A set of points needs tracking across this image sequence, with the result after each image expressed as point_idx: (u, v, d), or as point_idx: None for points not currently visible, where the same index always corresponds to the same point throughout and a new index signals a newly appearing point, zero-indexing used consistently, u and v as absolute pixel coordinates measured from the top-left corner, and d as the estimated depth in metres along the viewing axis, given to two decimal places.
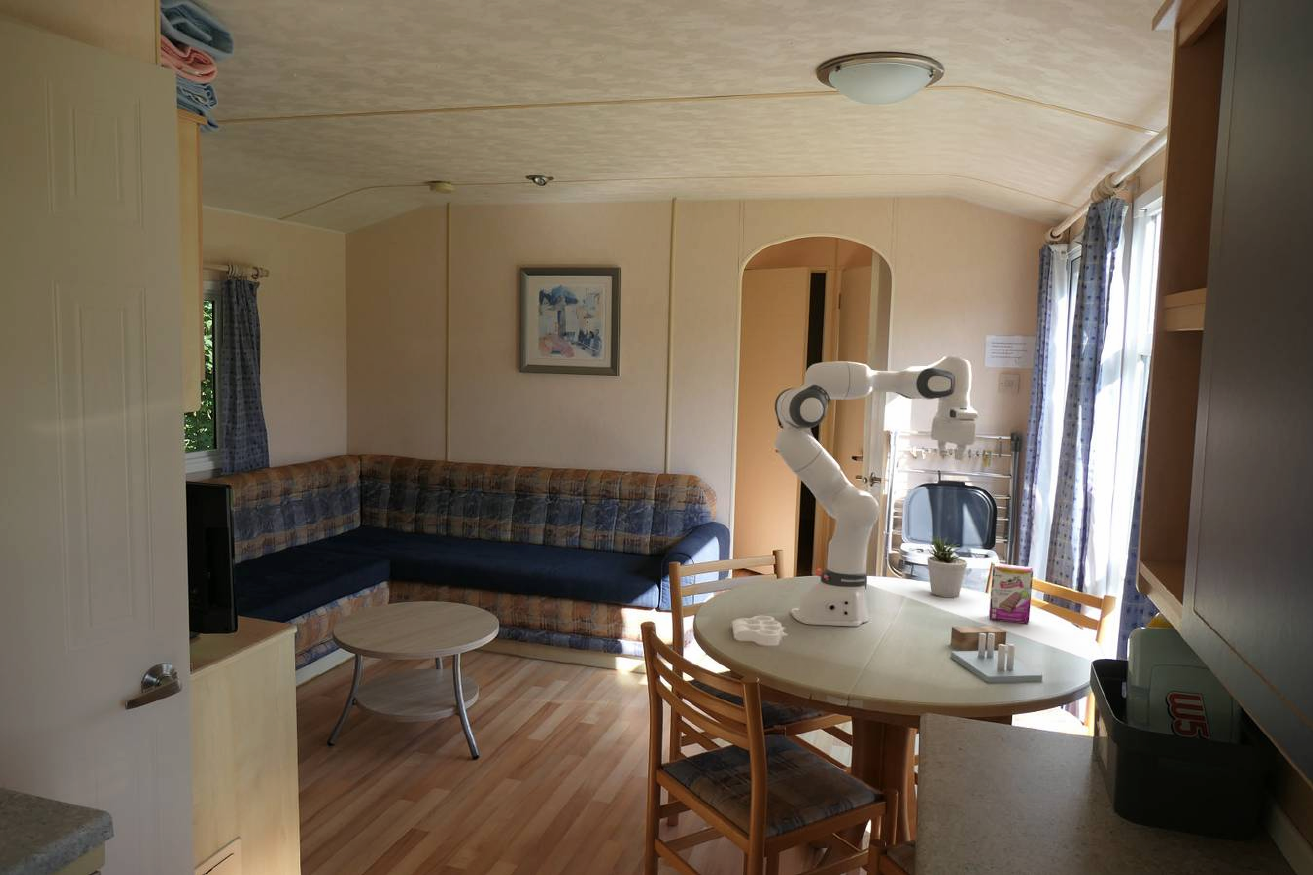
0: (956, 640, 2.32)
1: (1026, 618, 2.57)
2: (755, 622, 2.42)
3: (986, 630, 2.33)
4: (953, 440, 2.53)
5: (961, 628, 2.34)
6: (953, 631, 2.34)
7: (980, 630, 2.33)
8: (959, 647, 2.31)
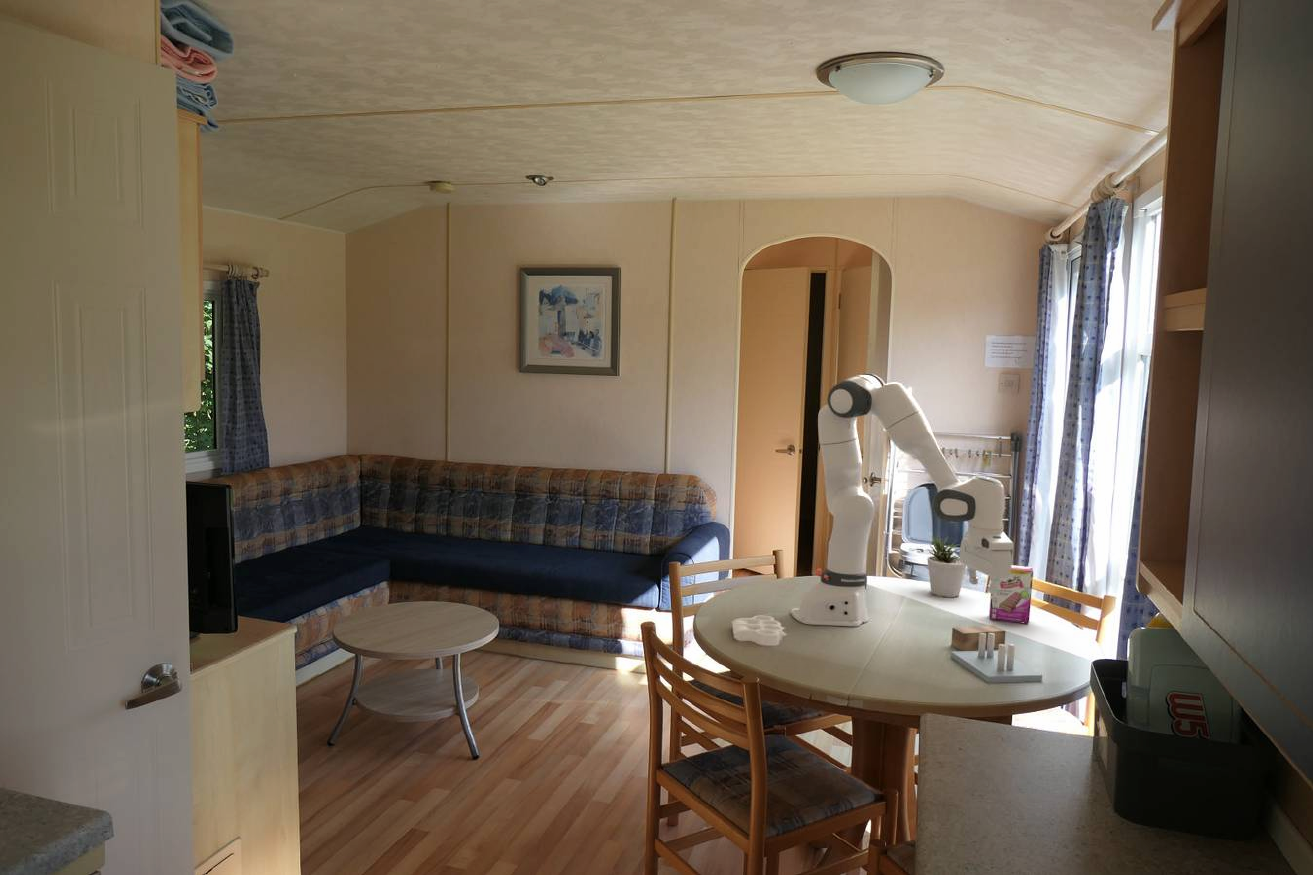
0: (958, 641, 2.32)
1: (1026, 618, 2.57)
2: (755, 622, 2.42)
3: (986, 630, 2.33)
4: (986, 571, 2.27)
5: (962, 629, 2.33)
6: (954, 632, 2.33)
7: (980, 630, 2.33)
8: (961, 648, 2.30)
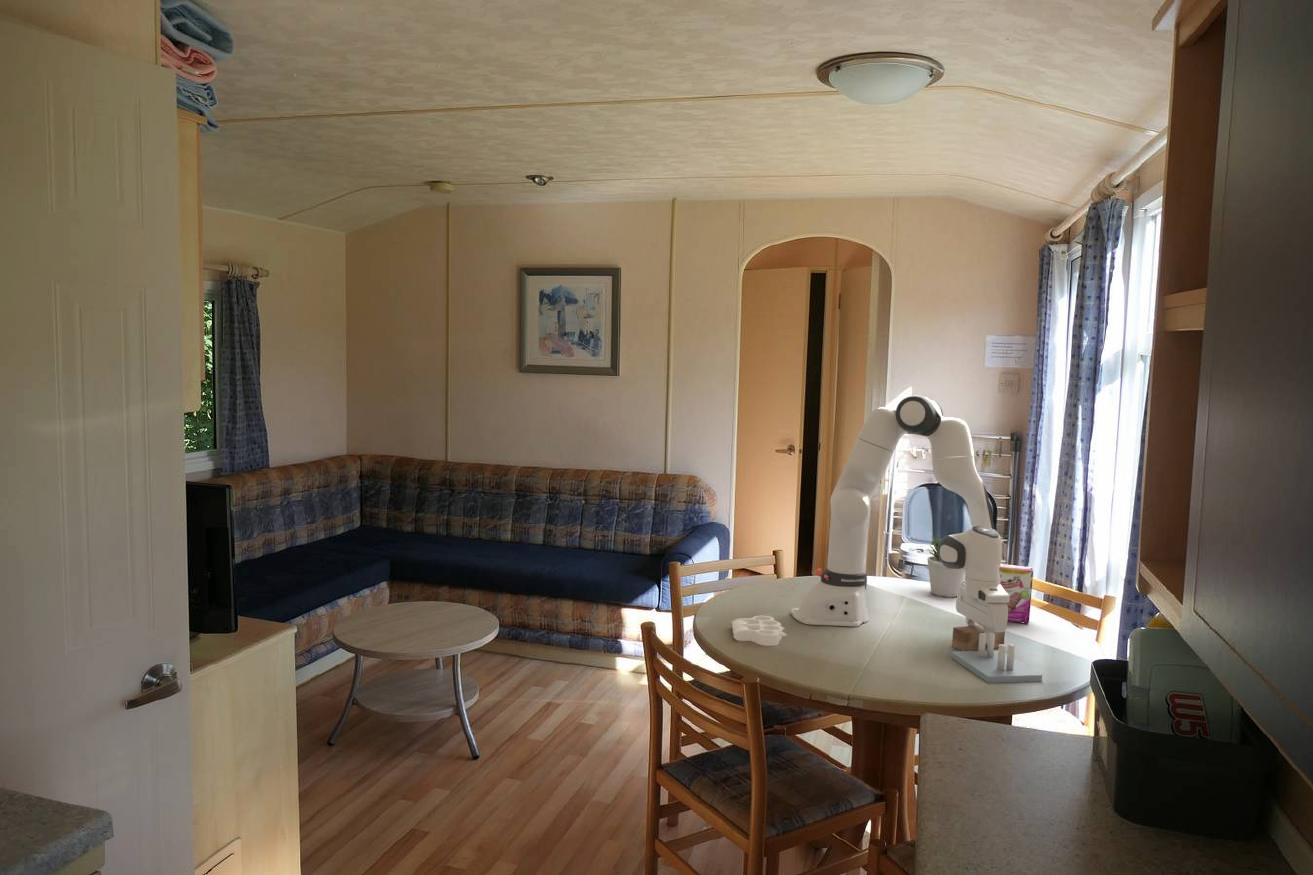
0: (960, 640, 2.31)
1: (1026, 618, 2.57)
2: (755, 622, 2.42)
3: None
4: (982, 623, 2.29)
5: (962, 628, 2.33)
6: (955, 632, 2.33)
7: (981, 629, 2.33)
8: (963, 648, 2.30)
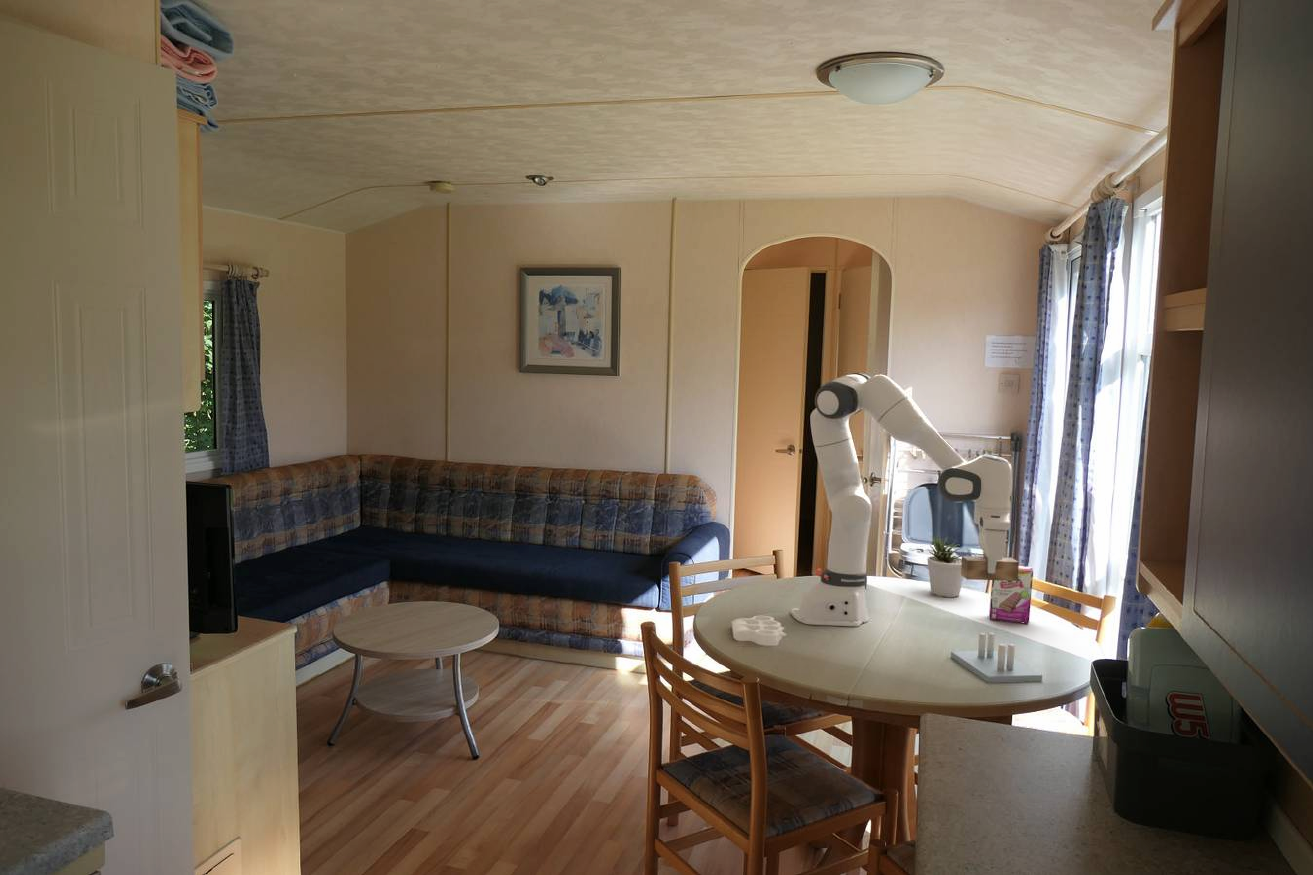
0: (964, 568, 2.27)
1: (1026, 618, 2.57)
2: (755, 622, 2.42)
3: (997, 560, 2.26)
4: (985, 551, 2.23)
5: (970, 557, 2.28)
6: (962, 560, 2.29)
7: None
8: (966, 576, 2.26)
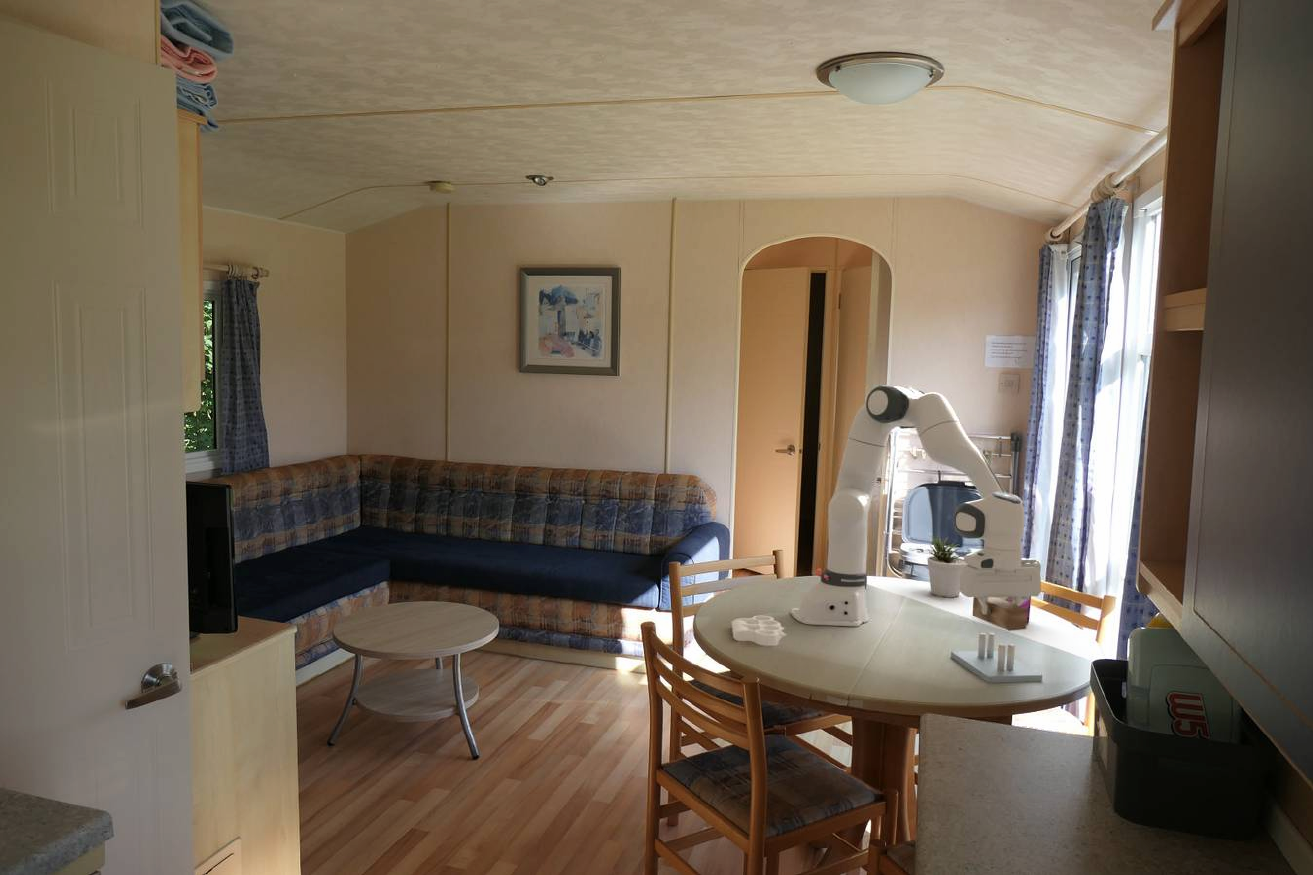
0: None
1: None
2: (754, 622, 2.42)
3: (999, 604, 2.13)
4: None
5: (989, 597, 2.20)
6: None
7: (997, 602, 2.15)
8: None
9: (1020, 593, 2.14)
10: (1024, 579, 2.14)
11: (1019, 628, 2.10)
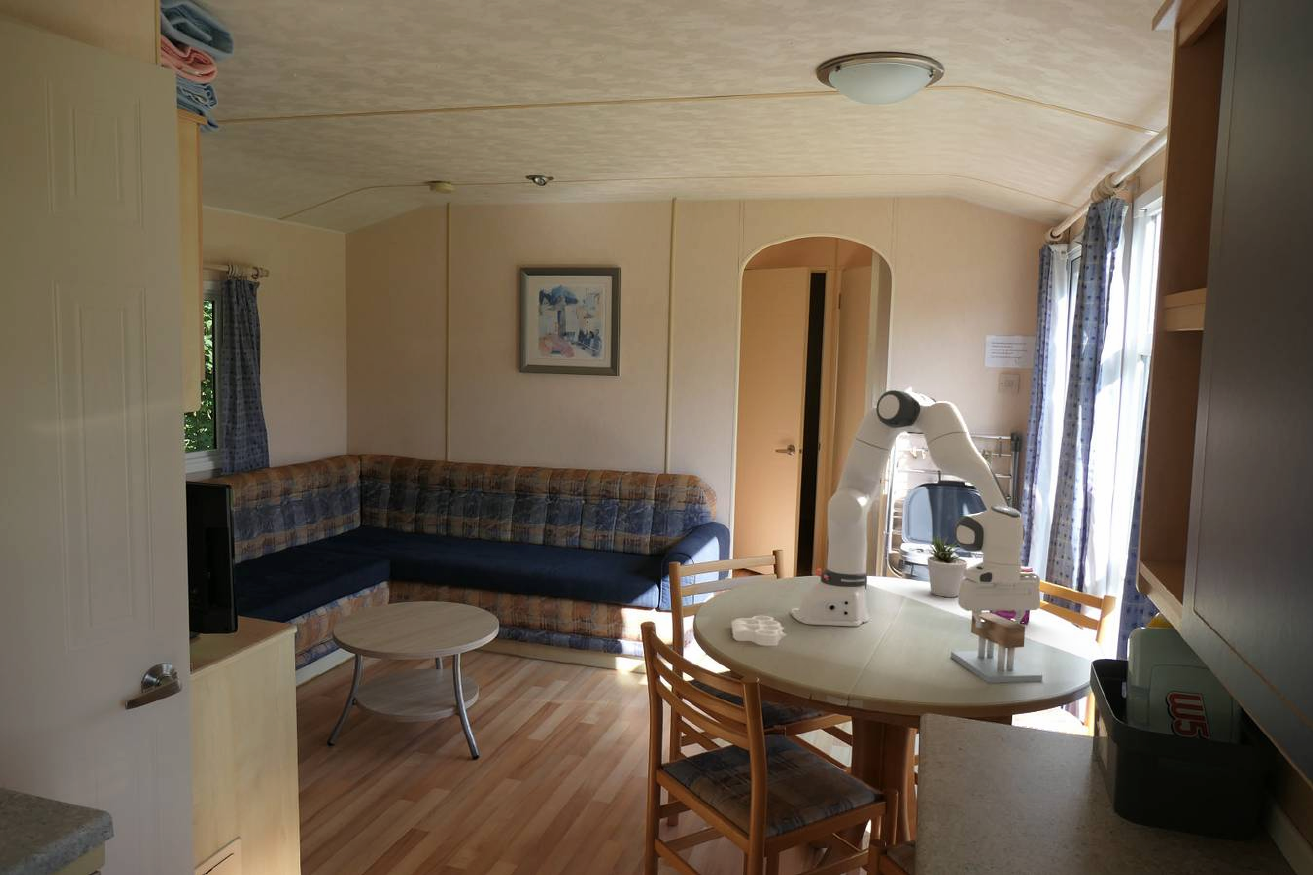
0: None
1: (1026, 618, 2.57)
2: (754, 622, 2.42)
3: (998, 621, 2.14)
4: None
5: (988, 614, 2.20)
6: None
7: (995, 620, 2.15)
8: None
9: (1019, 607, 2.14)
10: (1023, 593, 2.14)
11: (1017, 646, 2.10)
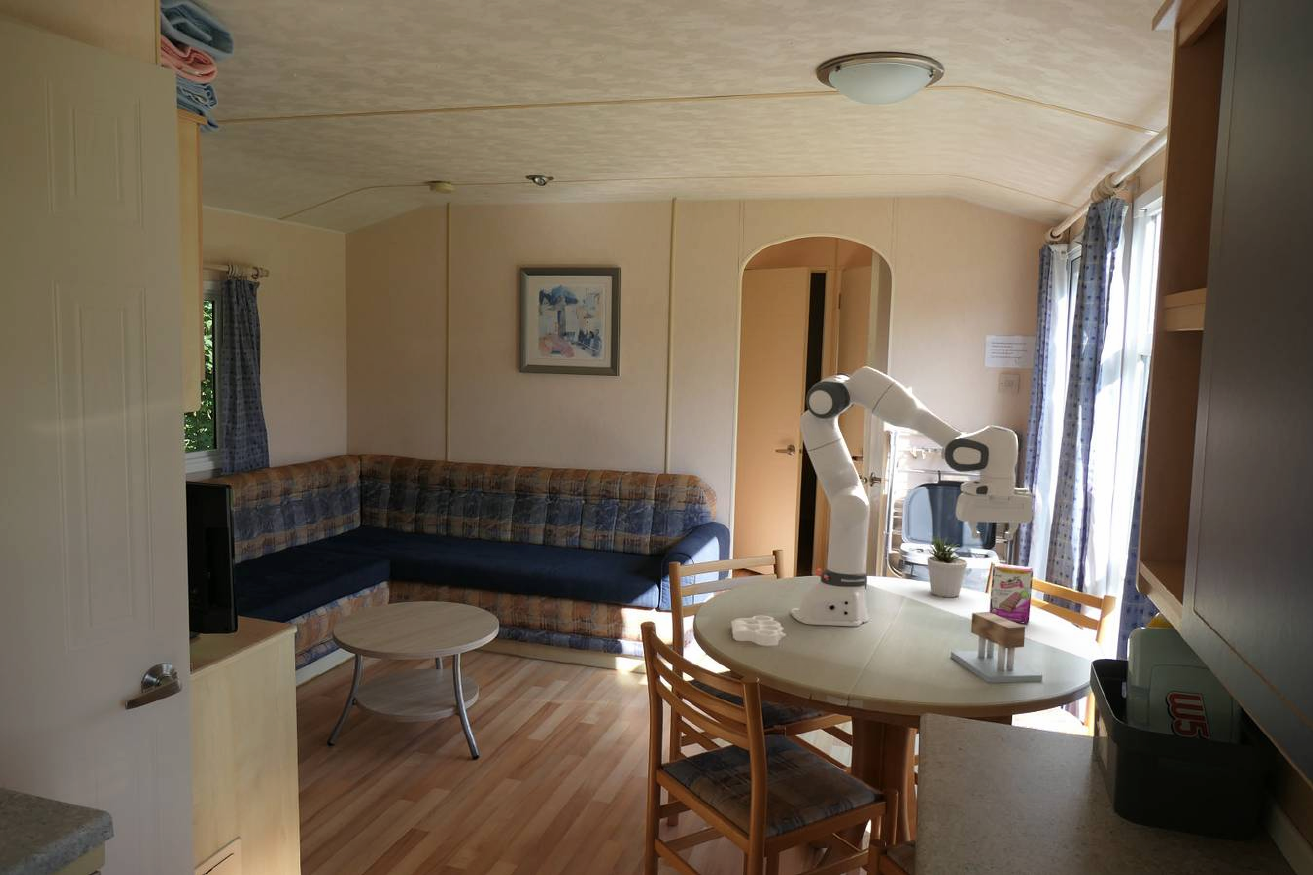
0: None
1: (1026, 618, 2.57)
2: (754, 622, 2.42)
3: (998, 621, 2.14)
4: None
5: (988, 614, 2.20)
6: None
7: (995, 620, 2.15)
8: None
9: (1012, 519, 2.30)
10: (1016, 507, 2.30)
11: (1017, 646, 2.10)
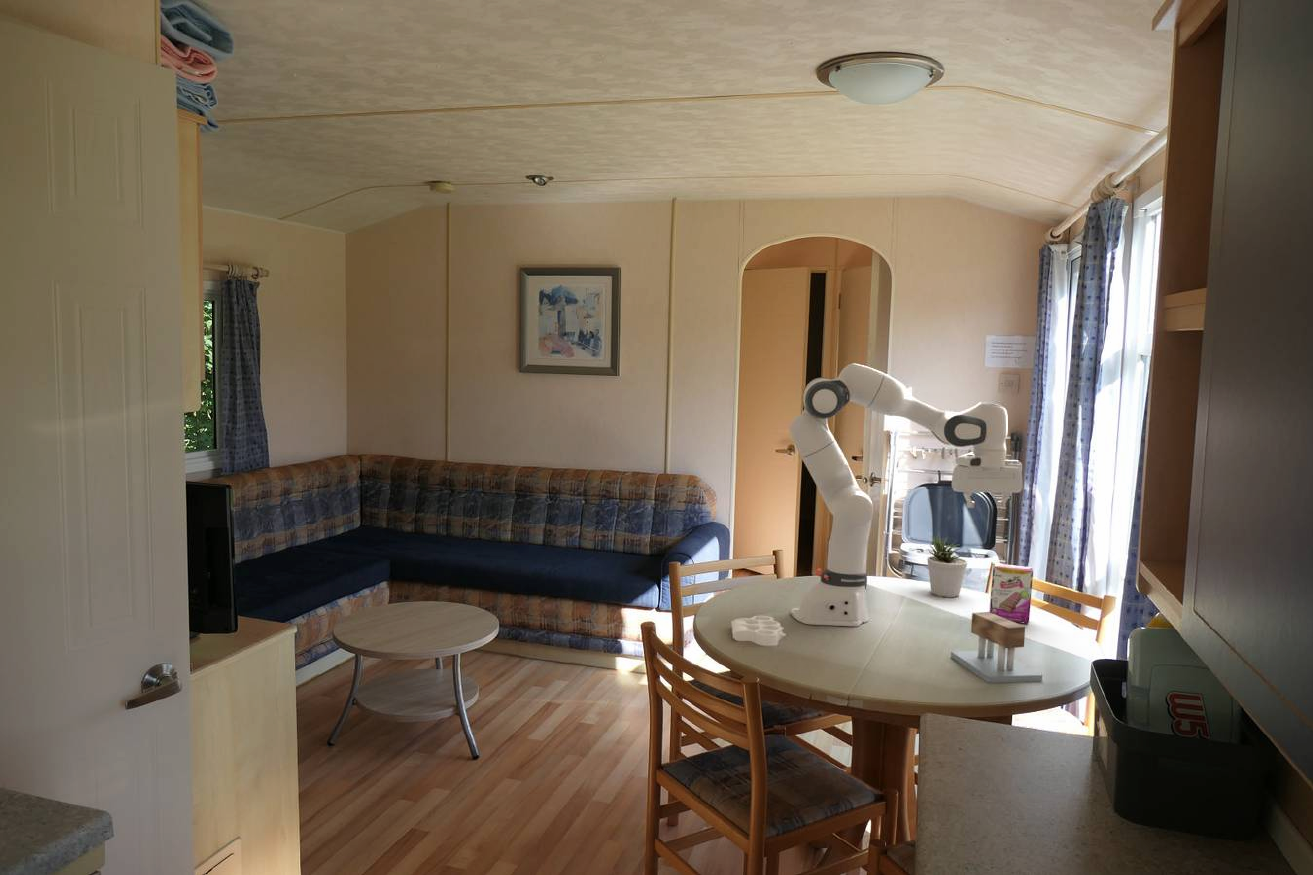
0: None
1: (1026, 618, 2.57)
2: (754, 622, 2.42)
3: (998, 621, 2.14)
4: None
5: (988, 614, 2.20)
6: None
7: (995, 620, 2.15)
8: None
9: (1004, 489, 2.47)
10: (1008, 477, 2.47)
11: (1017, 646, 2.10)
